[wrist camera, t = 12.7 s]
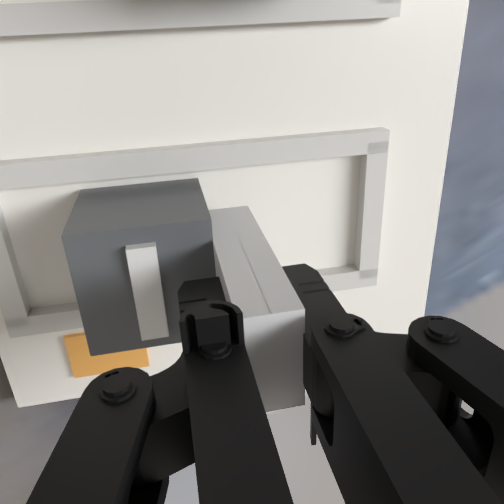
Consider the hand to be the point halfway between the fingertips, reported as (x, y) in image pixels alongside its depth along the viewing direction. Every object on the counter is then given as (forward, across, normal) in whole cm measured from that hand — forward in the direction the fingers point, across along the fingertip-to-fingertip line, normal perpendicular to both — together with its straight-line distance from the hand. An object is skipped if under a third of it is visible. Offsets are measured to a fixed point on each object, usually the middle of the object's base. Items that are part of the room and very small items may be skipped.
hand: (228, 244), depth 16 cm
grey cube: (+2, -3, 0) cm, 3 cm away
